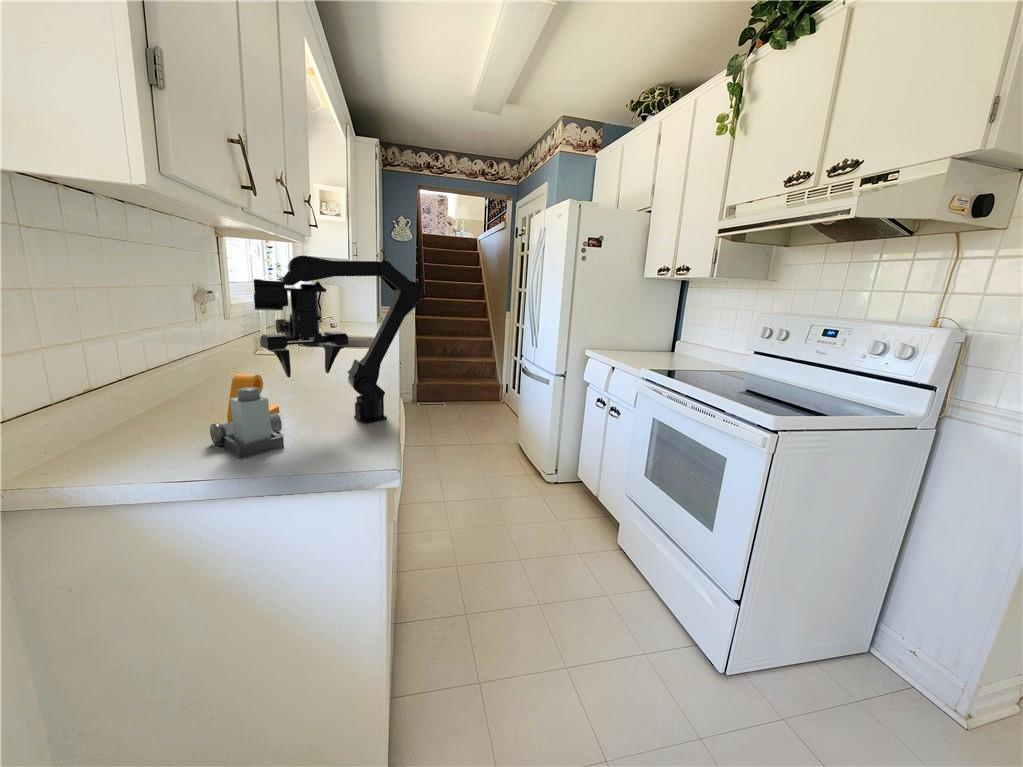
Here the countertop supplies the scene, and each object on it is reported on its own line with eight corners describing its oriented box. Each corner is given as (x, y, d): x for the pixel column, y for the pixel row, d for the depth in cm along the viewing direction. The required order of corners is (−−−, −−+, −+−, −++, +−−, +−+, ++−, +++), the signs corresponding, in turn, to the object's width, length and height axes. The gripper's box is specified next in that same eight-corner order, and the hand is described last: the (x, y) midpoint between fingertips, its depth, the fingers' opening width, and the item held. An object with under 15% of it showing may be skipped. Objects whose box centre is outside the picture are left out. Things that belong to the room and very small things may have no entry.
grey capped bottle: (261, 441, 94) (256, 385, 91) (272, 447, 91) (267, 389, 88) (235, 447, 90) (229, 389, 87) (245, 454, 87) (240, 394, 84)
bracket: (258, 428, 102) (254, 380, 100) (228, 426, 102) (223, 378, 100) (281, 414, 113) (277, 371, 110) (253, 413, 113) (249, 369, 110)
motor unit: (273, 428, 102) (271, 409, 101) (300, 443, 95) (299, 422, 94) (211, 442, 92) (208, 421, 91) (236, 459, 84) (234, 437, 83)
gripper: (328, 308, 112) (331, 365, 115) (249, 308, 98) (255, 373, 102) (348, 311, 104) (350, 373, 108) (266, 312, 91) (271, 382, 94)
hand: (308, 374), depth 103 cm, fingers open, 9 cm apart
